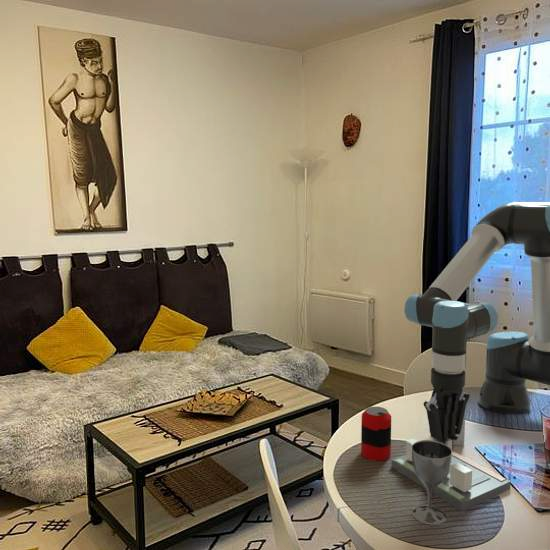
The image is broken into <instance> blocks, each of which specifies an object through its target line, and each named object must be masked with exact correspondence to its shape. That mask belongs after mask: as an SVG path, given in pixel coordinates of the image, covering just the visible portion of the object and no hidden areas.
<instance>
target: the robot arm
mask: <svg viewBox="0 0 550 550" xmlns="http://www.w3.org/2000/svg"><path fill="white" fill-rule="evenodd" d="M509 244H516V245H523V248H524V255H525V256H526V257H528V258H529V259H530V271H531V273H530V274H531V290H532V291H531V292H532V293H531V294H532V314H533V316H532V317H533V319H532V320H533V335H532V336H531V337H529V334H528V333H526V332H522V331H499V332H495V333H492V334H490V335H489V336H488V337H487V341H486V347H485V350H486V353H485V377H484V380H483V383H482V385H481V388H480V390H479V393H478V399H477V401H478V402H477V403H478V404H479V405H480V406H481V407H482V408H484V409H486V410H488V411H491V412H494V413H498V414H499V413H500V414H505V415H520V414H524V413H528V412H529V411H530V410H531V399H530V396H529V392H528V389H527V385H526V380H527V381H530V382H535V383H538V384H542V385H545V386H550V202H544V201H543V202H542V201H541V202H538V201H537V202H536V201H535V202H534V201H531V202H530V201H529V202H527V201H526V202H525V201H513V202H512V201H511V202H508V203H505V204H503V205H501V206H499V207H496V208H495V209H493V210H492V211H490V212H489V213H487V214H485V216H483V217H482V218H481V219H480V220H479V221H478V222H477V223H476V224H475V226H474V227H473V228H472V230H471V235H470V237H469V239H468V240H467V241H466V242H465V243H464V244H463V246H462V247H461V248H460V249H459V251H458V252H457V253H456V254H455V255H454V257H453V258H452V259H451V260H450V262H448V264H447V265H446V266H445V268H444V269H443V270H442V271H441V273H440V274H438V276H437V277H436V279H435V280H434V281H433V282H432V283H431V285H430V286H429V287H428V289H426V291H425V292H424V293H423V294H420V293H419V294H418V293H417V294H416V293H415V294H411V295H410V296H409V297H407V299H406V301H405V303H404V308H403V309H404V315H405V317H406V319H407V321H409V322H411V323H414V324H417V325H419V326H426V327H430V328H432V346H431V367H432V368H431V371H430V384H431V386H432V387H433V389H432V390H433V391H432V392H431V398H430V399H429V401H427V400H425V401H424V402H423V406H424V409H425V410H426V415H427V420H428V428H429V433H430V437H431V438H433V439H435V441H436V440H437V441H438V442H441V443H444V444H446V445H447V446H449V447H450V449H451V452H452V451H454V450H453V449H454V445H453V439H454V440H457V439H458V437H457V436H455V435H456V434H460V432H461V428H462V423H463V418H464V413H465V414H466V410H465V409H466V408H467V404H468V401H469V399H470V397H471V395H470V394H469V393H467V392H464V391H463V388H464V387H465V385H466V371H465V370H466V368H467V342H468V341H467V340H470V339H474V338H476V337H481V336H484V335H486V334H488V333H490V332H491V331H494V330H495V328H496V327H497V325H498V322H499V316H498V312H497V310H496V309H495V307H494V306H493V305H491V304H490V303H488V302H485V301H483V302H482V301H480V302H473V303H469V302H467V303H466V302H462V301H457V300H458V299H459V298H460V297H461V296H462V294H463V293H464V292H465V291H466V290H467V288H468V287H469V285H470V284H471V283H472V281H473V280H474V279H475V278H476V276H477V275H478V274H479V273H480V271H482V269H483V267H484V266H485V265H486V264H487V263H488V261H489V260H490V259H491V257H492V256H493V255H494V254H495V253H497V252H500V251H501V250H502V249H504V247H505V246H507V245H509ZM456 427H457V428H456ZM451 460H452V454H451ZM450 466H451V465H450Z"/></svg>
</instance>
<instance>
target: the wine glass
mask: <svg viewBox="0 0 550 550" xmlns="http://www.w3.org/2000/svg"><path fill="white" fill-rule="evenodd" d="M417 441H418V442H416V443H414V444H413V446H412V462H413V468H414V472H415V474H416V476H417V477H418V478H419V479H420V481H421V482H422V483H423V484H424V485H425V487H426V488H425V489H426V493H427V504H420V505H417V506H415V507H413V509H412V512H411V513H412V517H413V518H414V519H415V520H416V521H418V522H420V523H422V524H426V525H431V526H436V525H442V524H443V523H445V522H446V521H447V519H448V517H447V516H448V515H447V514H446V512H445V511H444V510H443V509H442V508H440V507H438V506H436V505H433V504H432V503H433V495H434V493H433V492H434V489H435V488H436V487H437V486H438V485H439V484H440V483H442V482H443V481H444V480H445V479H446V478H447V476H448V473H449V470H450V465H451V454H452V452H451V449H450V447H449V446H447V445H446V444H444V443H441V442H438V440H437V441H436V440H432V439H431V440H429V439H425V440H424V439H423V440H417Z"/></svg>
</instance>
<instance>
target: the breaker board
mask: <svg viewBox="0 0 550 550" xmlns="http://www.w3.org/2000/svg"><path fill="white" fill-rule="evenodd" d="M456 463H460V464H461V465H463V466H465V467H467V468H469V469H471V470H472V488H471V490H468V491H466V492H463V491H461V490H459V489H457V488H456V487H454V486H452V485H451V484H450V470H449V474H448V476H447V478H446V479H445V480H444V481H443V482H442V483H440V484H439V485H438V486H437V487H436V488H435V489H434V492H433V495H435V496H437V497H439V498H440V499H441V500H443V501H445V502H447V503H448V504H449V505H451V506H453V508H456V509H458V510H460V511H461V512H463V511H466V510H467V509H468V510H469V509H470V508H473V507H475V506H476V505H478V504H481V503H483V502H486V501H488V500H490V499H493V498H494V497H496V496H499V495H501V494H503V493H506V492H508V491H510V490H511V480H509V479H508V478H505V477H503V476H501V475H499V474H497V473H496V472H493V471H491V470H490V469H488V468H486V467H484V466H482V465H480V464H478V463H476V462H474V461H472V459H471V460H470V459H469V458H466V457H465V456H463V455H461V454H460V453H457V452H455V451H454V450H452V460H451V465H453V464H456ZM391 468H392V469H394V470H395V471H397V472H399V473H400V474H402V475H404V476H405V477H406V478H408V479H410V480H412V481H413V482H415V483H416V484H417V485H419V486H420V487H422V488H424V489H426V487H425V485H424V484H423V483H422V482H421V481H420V479H419V478H418V477H417V476H416V474H415V472H414V468H413V462H412V461H410V460H408V459H407V458H406V454H403V455H401V456H398V457H395V458H392V459H391Z"/></svg>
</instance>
